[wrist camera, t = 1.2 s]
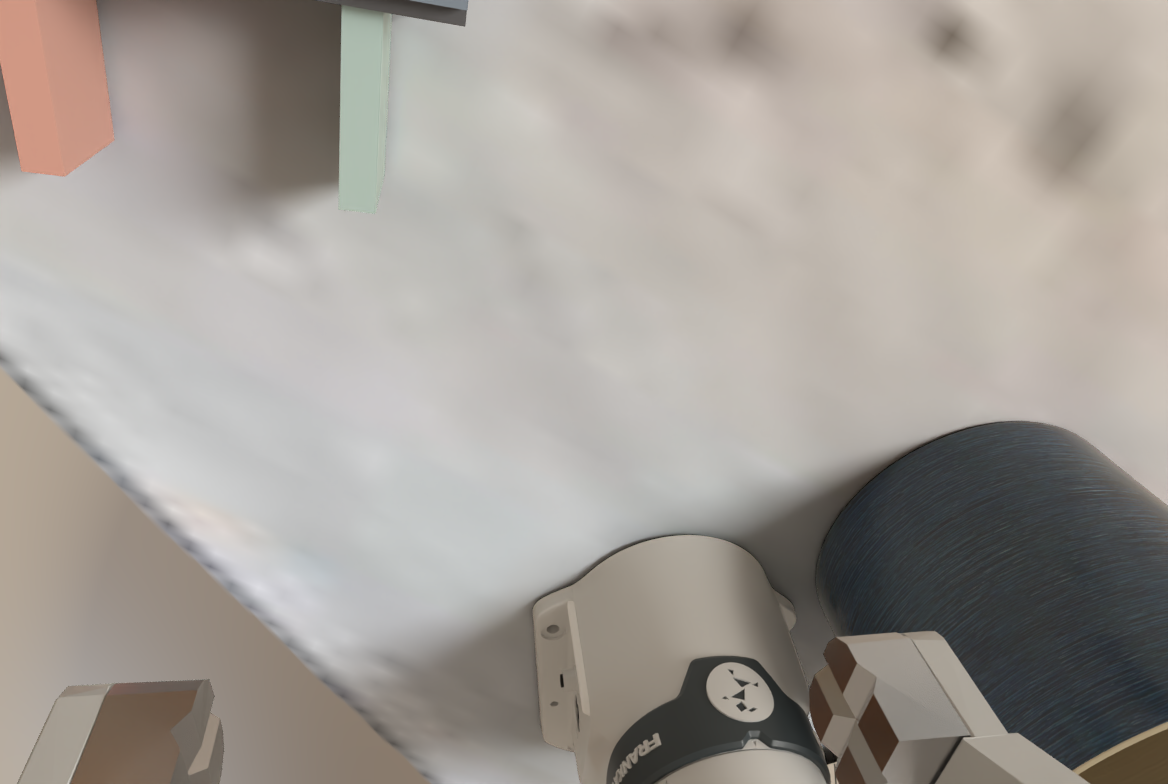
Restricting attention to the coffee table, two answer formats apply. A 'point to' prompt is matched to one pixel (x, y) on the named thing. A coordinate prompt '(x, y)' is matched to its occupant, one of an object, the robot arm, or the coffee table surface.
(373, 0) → the grey rectangular block
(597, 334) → the coffee table surface
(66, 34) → the pink stick
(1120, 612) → the planter
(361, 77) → the mint green upright slab
